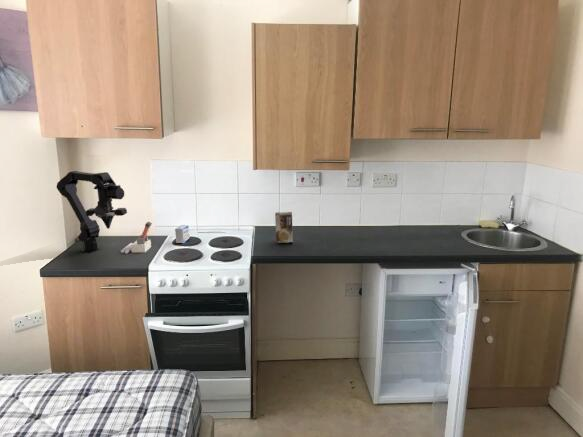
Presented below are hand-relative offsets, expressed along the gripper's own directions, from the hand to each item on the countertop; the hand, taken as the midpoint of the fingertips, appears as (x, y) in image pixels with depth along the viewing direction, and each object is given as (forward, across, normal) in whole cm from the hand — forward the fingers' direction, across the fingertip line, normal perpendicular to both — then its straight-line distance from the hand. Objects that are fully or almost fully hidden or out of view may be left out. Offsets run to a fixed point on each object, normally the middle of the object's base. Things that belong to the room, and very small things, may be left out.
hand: (108, 228), depth 226 cm
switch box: (+13, +14, +5) cm, 20 cm away
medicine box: (+13, +32, +18) cm, 39 cm away
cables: (+13, +7, +5) cm, 16 cm away
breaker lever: (+8, +15, +5) cm, 17 cm away
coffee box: (+13, +88, +16) cm, 90 cm away
